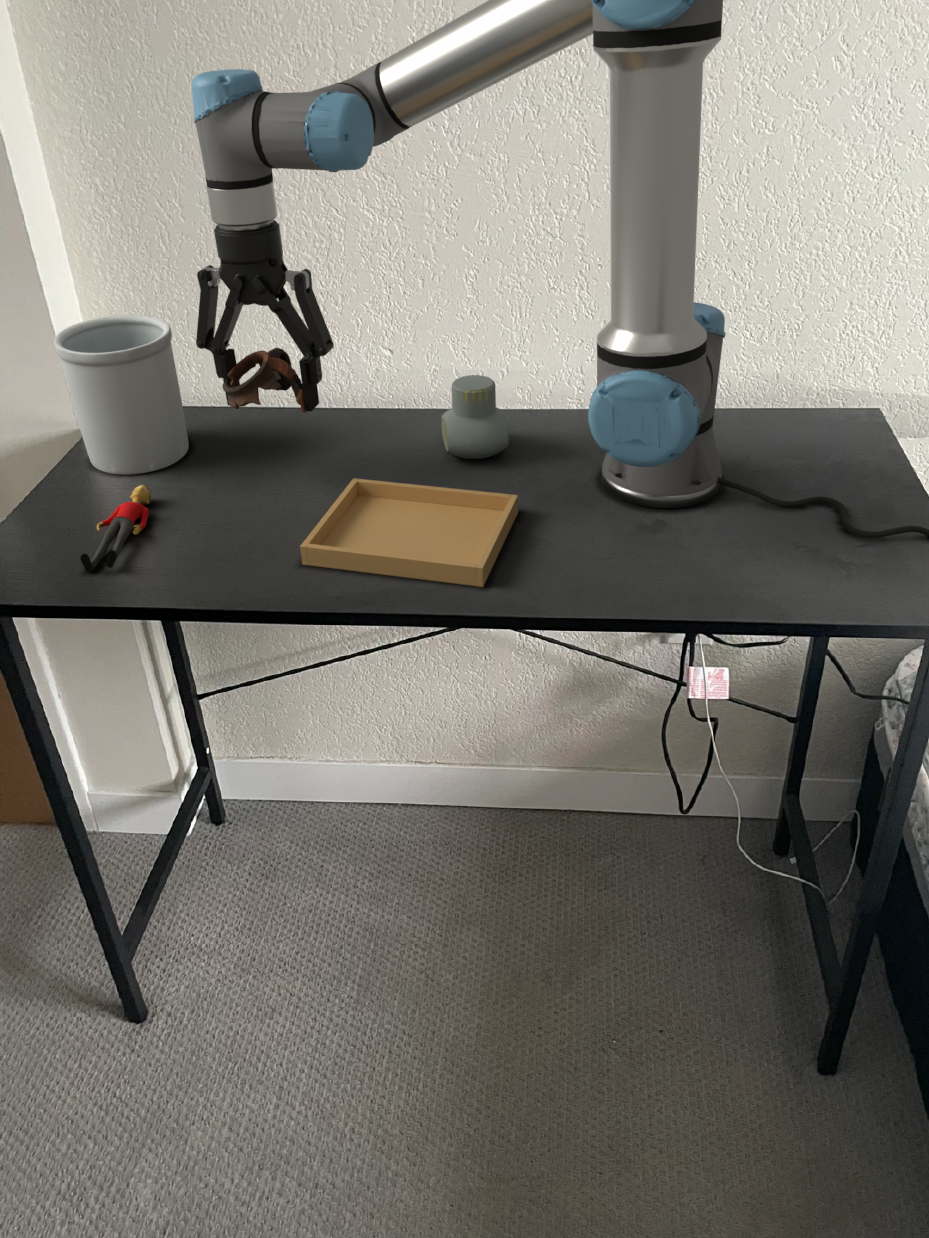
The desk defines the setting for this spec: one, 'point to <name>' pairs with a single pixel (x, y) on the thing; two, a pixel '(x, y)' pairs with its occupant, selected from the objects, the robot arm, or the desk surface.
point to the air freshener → (474, 420)
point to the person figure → (120, 527)
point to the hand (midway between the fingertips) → (273, 404)
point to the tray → (412, 532)
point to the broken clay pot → (263, 378)
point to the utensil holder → (125, 392)
